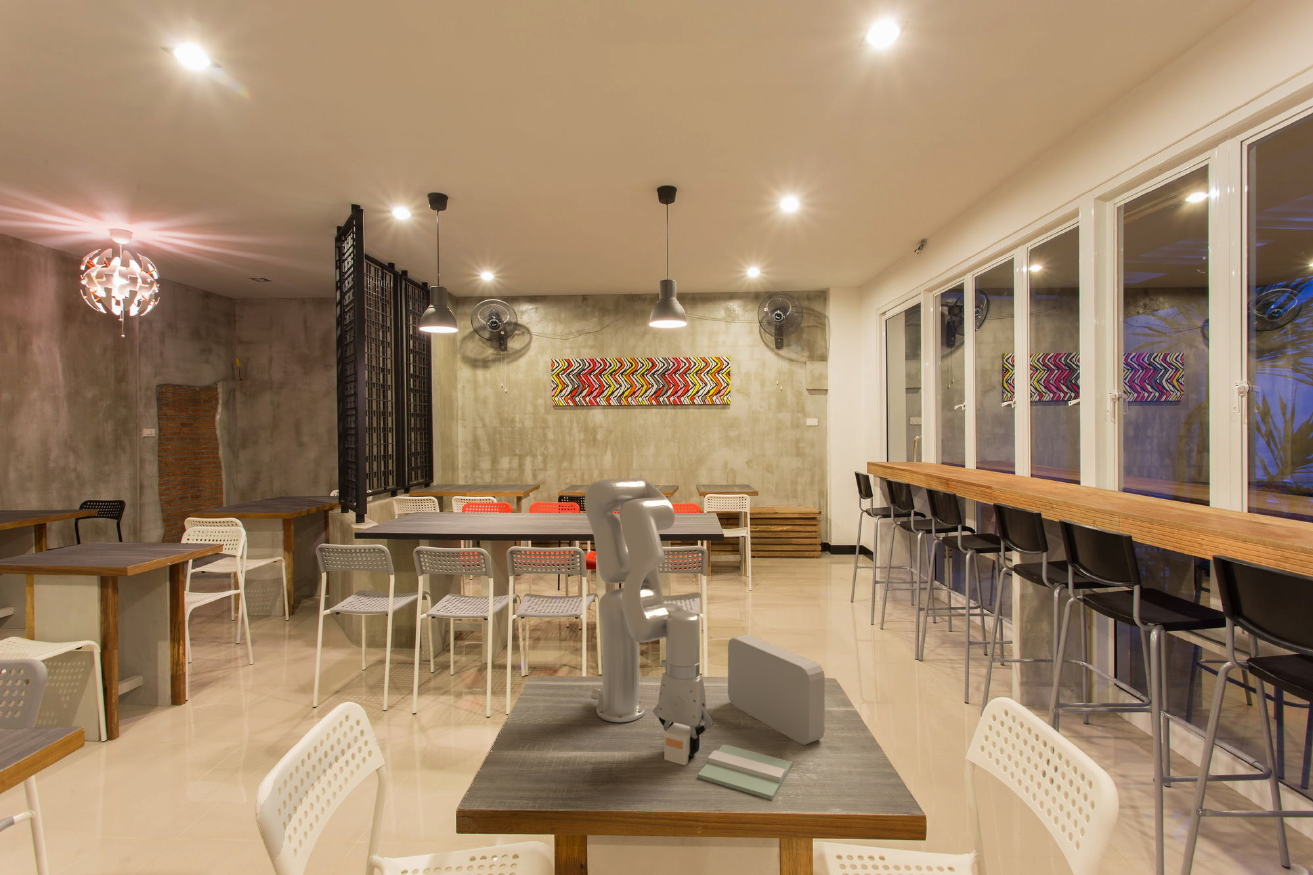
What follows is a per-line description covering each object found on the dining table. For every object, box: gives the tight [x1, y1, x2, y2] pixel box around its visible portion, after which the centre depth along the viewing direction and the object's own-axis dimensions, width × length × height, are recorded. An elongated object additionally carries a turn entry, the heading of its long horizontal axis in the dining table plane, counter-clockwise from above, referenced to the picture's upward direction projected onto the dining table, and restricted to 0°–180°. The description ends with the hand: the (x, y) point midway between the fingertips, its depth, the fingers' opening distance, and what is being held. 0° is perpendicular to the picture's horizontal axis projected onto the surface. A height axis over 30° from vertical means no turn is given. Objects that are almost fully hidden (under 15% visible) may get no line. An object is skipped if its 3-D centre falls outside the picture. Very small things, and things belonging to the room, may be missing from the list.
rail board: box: [697, 743, 793, 801], centre depth 128 cm, size 16×14×2 cm
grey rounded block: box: [727, 634, 826, 746], centre depth 151 cm, size 29×8×18 cm, turn 33°
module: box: [663, 723, 701, 766], centre depth 135 cm, size 5×8×6 cm, turn 152°
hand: (682, 749), depth 135 cm, fingers closed on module, 4 cm apart
